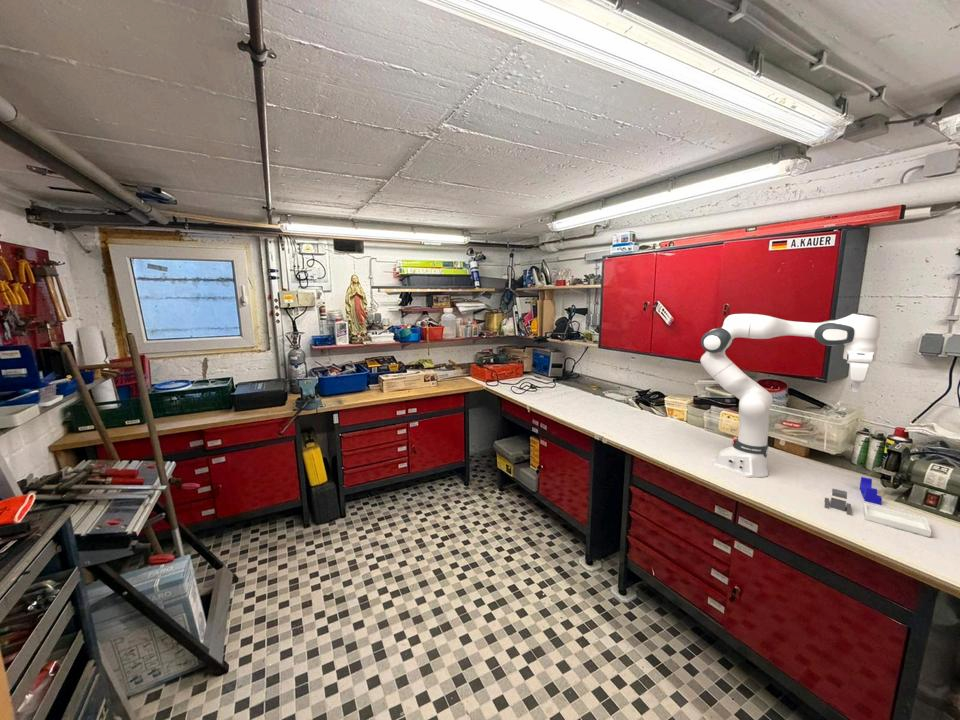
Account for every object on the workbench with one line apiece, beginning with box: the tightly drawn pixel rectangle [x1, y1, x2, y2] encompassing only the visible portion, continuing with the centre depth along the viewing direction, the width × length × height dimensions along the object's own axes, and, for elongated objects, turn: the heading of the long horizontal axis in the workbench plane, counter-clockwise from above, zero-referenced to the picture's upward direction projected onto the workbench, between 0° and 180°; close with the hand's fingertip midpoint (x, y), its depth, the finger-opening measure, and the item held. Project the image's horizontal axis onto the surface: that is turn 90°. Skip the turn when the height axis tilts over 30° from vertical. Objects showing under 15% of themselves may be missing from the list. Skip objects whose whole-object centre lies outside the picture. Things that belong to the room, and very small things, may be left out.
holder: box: [824, 497, 853, 516], centre depth 142 cm, size 7×8×2 cm
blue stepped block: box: [859, 476, 883, 506], centre depth 150 cm, size 12×4×6 cm, turn 141°
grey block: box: [829, 488, 848, 512], centre depth 142 cm, size 4×4×7 cm
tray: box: [862, 502, 932, 539], centre depth 133 cm, size 16×10×2 cm, turn 46°
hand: (854, 389), depth 143 cm, fingers open, 8 cm apart
